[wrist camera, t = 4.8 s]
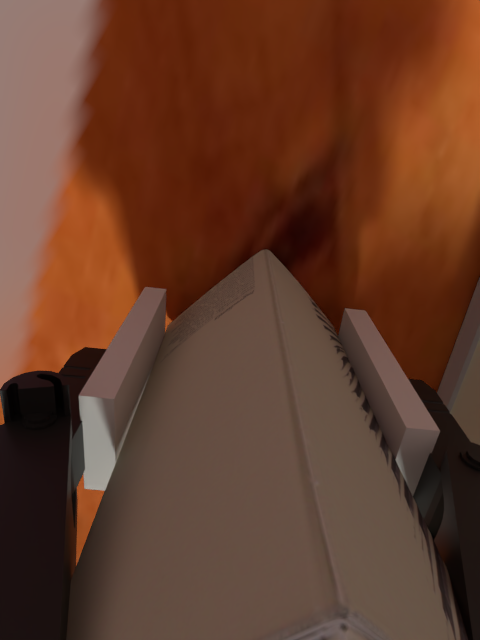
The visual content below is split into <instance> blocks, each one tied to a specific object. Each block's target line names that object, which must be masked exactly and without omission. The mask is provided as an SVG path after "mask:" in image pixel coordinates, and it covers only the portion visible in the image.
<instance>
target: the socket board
mask: <svg viewBox="0 0 480 640" xmlns="http://www.w3.org/2000/svg"><path fill="white" fill-rule="evenodd" d="M437 394H438V395H439V397H440V398H441V400H442V401H443V404H445V405H446V407H447V408H448V410H449V411H450V414H452V416H453V417H454V418H455V420H456V421H457V423H458V424H459V426H460V427H461V428H462V430H463V431H464V433H465V434H466V436H467V437H468V439H469V440H470V441H471V442H472V443H476V444H478V445H480V277H479V280H478V283H477V286H476V288H475V291H474V294H473V296H472V299H471V302H470V305H469V307H468V310H467V313H466V315H465V318H464V321H463V324H462V326H461V329H460V332H459V334H458V337H457V340H456V343H455V345H454V348H453V351H452V353H451V356H450V359H449V362H448V364H447V367H446V370H445V372H444V375H443V378H442V381H441V383H440V386H439V389H438V391H437Z"/></svg>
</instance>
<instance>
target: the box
mask: <svg viewBox="0 0 480 640" xmlns="http://www.w3.org/2000/svg"><path fill="white" fill-rule="evenodd" d="M66 640H468V637H467V633H466V630H465V626H464V623H463V620H462V616H461V613H460V610H459V606H458V603H457V599H456V596H455V593H454V589H453V586H452V583H451V579H450V576H449V573H448V570H447V567H446V565H445V563H444V561H443V560H442V558H441V556H440V554H439V551H438V548H437V546H436V544H435V542H434V540H433V538H432V535H431V533H430V531H429V529H428V527H427V525H426V523H425V521H424V519H423V517H422V515H421V513H420V510H419V508H418V506H417V504H416V502H415V500H414V498H413V496H412V494H411V492H410V490H409V488H408V485H407V483H406V481H405V479H404V477H403V475H402V473H401V471H400V469H399V467H398V464H397V462H396V460H395V458H394V456H393V454H392V452H391V450H390V448H389V446H388V444H387V442H386V439H385V437H384V435H383V433H382V431H381V429H380V427H379V425H378V422H377V420H376V418H375V415H374V413H373V411H372V409H371V407H370V405H369V403H368V400H367V398H366V396H365V394H364V392H363V390H362V388H361V386H360V383H359V380H358V379H357V377H356V375H355V372H354V369H353V368H352V366H351V364H350V361H349V359H348V357H347V355H346V353H345V350H344V348H343V347H342V344H341V342H340V340H339V338H338V335H337V334H336V331H335V329H334V327H333V325H332V324H331V323H330V321H329V320H328V319H327V317H326V316H325V315H324V313H323V312H322V311H321V310H320V308H319V307H318V306H317V305H316V303H315V302H314V301H313V300H312V298H311V297H310V296H309V294H308V293H307V292H306V291H305V290H304V288H303V287H302V286H301V285H300V283H299V282H298V281H297V280H296V279H295V278H294V277H293V275H292V274H291V273H290V272H289V271H288V270H287V269H286V267H285V266H284V265H283V264H282V263H281V262H280V261H279V260H278V259H277V258H276V257H275V256H274V254H273V253H272V252H271V251H269V250H268V249H265V250H261V251H260V252H258V253H257V254H255V255H254V256H253V257H251V258H250V259H249V260H247V261H246V262H245V263H243V264H242V265H241V266H239V267H238V268H237V269H236V270H234V271H233V272H232V273H230V274H229V275H228V276H227V277H225V278H224V279H223V280H222V281H220V282H219V283H218V284H217V285H215V286H214V287H213V288H212V289H210V290H209V291H208V292H207V293H206V294H204V295H203V296H202V297H201V298H200V299H198V300H197V301H196V302H195V303H194V304H192V305H191V306H190V307H189V308H188V309H186V310H185V311H184V312H183V313H182V314H181V315H179V316H178V317H177V318H176V319H175V320H174V321H172V322H171V323H170V324H169V325H168V327H167V329H166V332H165V335H164V338H163V340H162V343H161V346H160V348H159V351H158V354H157V356H156V359H155V362H154V365H153V367H152V370H151V372H150V375H149V377H148V380H147V383H146V386H145V388H144V391H143V394H142V396H141V399H140V401H139V404H138V406H137V409H136V411H135V414H134V417H133V419H132V422H131V425H130V427H129V430H128V432H127V435H126V438H125V440H124V443H123V446H122V448H121V451H120V453H119V456H118V459H117V461H116V464H115V467H114V469H113V472H112V474H111V477H110V479H109V482H108V484H107V487H106V490H105V492H104V495H103V497H102V500H101V502H100V505H99V508H98V511H97V513H96V516H95V518H94V521H93V523H92V526H91V529H90V532H89V534H88V537H87V540H86V542H85V545H84V548H83V550H82V553H81V556H80V558H79V561H78V563H77V566H76V568H75V571H74V573H73V576H72V579H71V586H70V598H69V610H68V623H67V637H66Z"/></svg>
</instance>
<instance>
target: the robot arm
mask: <svg viewBox="0 0 480 640" xmlns="http://www.w3.org/2000/svg"><path fill="white" fill-rule="evenodd" d="M166 290H167V289H161V288H152V287H145V288H144V289H143V291H142V293H141V294H140V296H139V298H138V299H137V301H136V303H135V304H134V306H133V307H132V309H131V311H130V312H129V314H128V316H127V317H126V319H125V321H124V322H123V324H122V325H121V327H120V329H119V330H118V332H117V334H116V335H115V337H114V339H113V340H112V342H111V343H110V345H109V347H108V348H107V349H98V348H88V347H85V348H83V349H82V350H80V351H78V352H76V353H75V354H73V355H72V356H71V357H70V358H69V360H68V361H67V362H66V364H65V365H64V368H62V369H61V370H60V372H59V373H55V372H52V371H34V372H28V373H24V374H21V375H18V376H15V377H13V378H12V379H10V380H9V381H7V382H6V383H4V385H3V386H2V388H1V389H0V396H1V402H2V408H3V415H4V421H5V423H4V424H2V425H0V640H66V637H67V623H68V610H69V598H70V586H71V579H72V576H73V573H74V571H75V568H76V538H77V486H78V483H79V481H80V479H81V477H82V475H83V473H84V488H85V489H93V490H104V491H105V490H106V487H107V484H108V482H109V479H110V477H111V474H112V472H113V469H114V467H115V464H116V461H117V459H118V456H119V453H120V451H121V448H122V446H123V443H124V440H125V438H126V435H127V432H128V430H129V427H130V425H131V422H132V419H133V417H134V414H135V411H136V409H137V406H138V404H139V401H140V399H141V396H142V394H143V391H144V388H145V386H146V383H147V380H148V377H149V375H150V372H151V370H152V367H153V365H154V362H155V359H156V356H157V354H158V351H159V348H160V346H161V343H162V340H163V338H164V335H165V316H166ZM338 338H339V340H340V342H341V344H342V347H343V348H344V350H345V353H346V355H347V357H348V359H349V361H350V364H351V366H352V368H353V369H354V372H355V375H356V377H357V379H358V380H359V383H360V386H361V388H362V390H363V392H364V394H365V396H366V398H367V400H368V403H369V405H370V407H371V409H372V411H373V413H374V415H375V418H376V420H377V422H378V425H379V427H380V429H381V431H382V433H383V435H384V437H385V439H386V442H387V444H388V446H389V448H390V450H391V452H392V454H393V456H394V458H395V460H396V462H397V464H398V467H399V469H400V471H401V473H402V475H403V477H404V479H405V481H406V483H407V485H408V488H409V490H410V492H411V494H412V496H413V498H414V500H415V502H416V504H417V506H418V508H419V510H420V513H421V515H422V517H423V519H424V521H425V523H426V525H427V527H428V529H429V531H430V533H431V535H432V538H433V540H434V542H435V544H436V546H437V548H438V551H439V554H440V556H441V558H442V560H443V561H444V563H445V565H446V567H447V570H448V573H449V576H450V579H451V583H452V586H453V589H454V593H455V596H456V599H457V603H458V606H459V610H460V613H461V616H462V620H463V623H464V626H465V630H466V633H467V637H468V640H480V445H478V444H476V443H472V442H471V441H470V440H469V439H468V437H467V436H466V434H465V433H464V431H463V430H462V428H461V427H460V426H459V424H458V423H457V421H456V420H455V418H454V417H453V416H452V414H450V411H449V410H448V408H447V407H446V405H445V404H443V401H442V400H441V398H440V397H439V395H438V394H437V392H436V391H435V390H434V389H432V388H431V387H430V386H428V385H427V384H426V383H425V382H423V381H422V380H414V379H408V378H407V377H406V375H405V373H404V372H403V370H402V369H401V367H400V365H399V364H398V362H397V360H396V359H395V357H394V356H393V354H392V352H391V351H390V349H389V348H388V346H387V344H386V343H385V341H384V340H383V338H382V336H381V335H380V333H379V331H378V330H377V328H376V327H375V325H374V323H373V322H372V320H371V319H370V317H369V315H368V314H367V312H366V311H365V310H357V309H348V308H345V309H344V313H343V317H342V322H341V326H340V330H339V334H338Z"/></svg>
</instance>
